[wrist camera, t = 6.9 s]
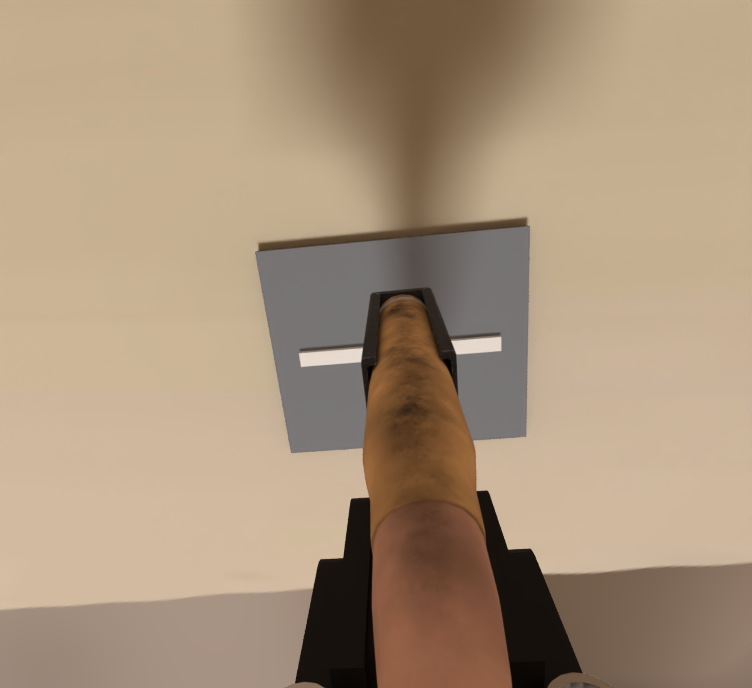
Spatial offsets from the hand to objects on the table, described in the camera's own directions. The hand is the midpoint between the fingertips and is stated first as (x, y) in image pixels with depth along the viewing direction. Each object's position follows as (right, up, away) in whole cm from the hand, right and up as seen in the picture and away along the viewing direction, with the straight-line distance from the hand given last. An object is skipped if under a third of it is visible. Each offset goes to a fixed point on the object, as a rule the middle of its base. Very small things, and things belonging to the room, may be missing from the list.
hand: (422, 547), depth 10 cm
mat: (0, +5, +14) cm, 15 cm away
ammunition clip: (0, +1, +5) cm, 5 cm away
